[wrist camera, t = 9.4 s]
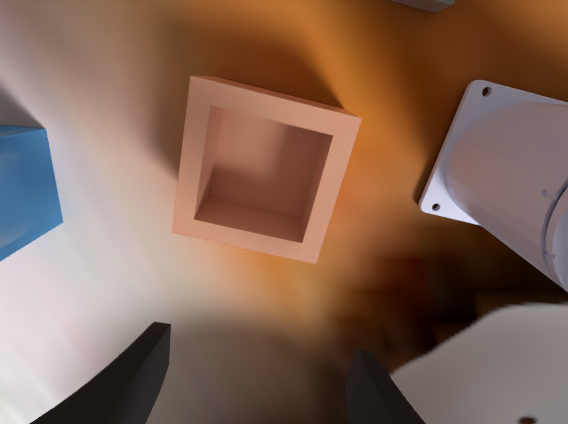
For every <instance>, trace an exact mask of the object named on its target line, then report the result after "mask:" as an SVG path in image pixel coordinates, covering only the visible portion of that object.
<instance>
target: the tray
mask: <svg viewBox="0 0 568 424" xmlns="http://www.w3.org/2000/svg"><path fill="white" fill-rule="evenodd" d="M390 1H393V2H397V3H401V4H404V5H408V6H411V7H415V8H419V9H422V10H426V11H429V12H433V13H437V12H440V11H442V10H444V9H446V8H448V7H450V6H453V4H454V2H455V0H390Z"/></svg>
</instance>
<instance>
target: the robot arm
mask: <svg viewBox="0 0 568 424" xmlns="http://www.w3.org/2000/svg"><path fill="white" fill-rule="evenodd" d="M485 87H487V88H488V93H487V94H486V95H485V96H483V94H482V90H483V89H484V88H485ZM436 203H438V206H437V207H436V208H435V209H432V206H433V205H434V204H436ZM419 208H420V209H421V210H422V211H423V212H425V213H430V214H434V215H438V216H442V217H447V218H451V219H455V220H460V221H464V222H468V223H472V224H477V225H481V226H482V227H484V228H485V229H486V230H488V231H489V232H490V233H492V234H493V235H494V236H495V237H497V238H498V239H499V240H501V241H502V242H503V243H505V244H506V245H507V246H508V247H510V248H511V249H512V250H514V251H515V252H516V253H518V254H519V255H520V256H522V257H523V258H524V259H525V260H527V261H528V262H529V263H531V264H532V265H533V266H535V267H536V268H537V269H538V270H540V271H541V272H542V273H544V274H545V275H546V276H548V277H549V278H550V279H552V280H553V281H554V282H555V283H557V284H558V285H559V286H561V287H562V288H564V289H565V290H566V291H567V292H568V102H564V101H560V100H556V99H553V98H549V97H545V96H541V95H537V94H534V93H530V92H526V91H522V90H519V89H515V88H511V87H507V86H504V85H500V84H496V83H492V82H488V81H485V80H474V81H472V82H470V83H469V84H468V86H467V88H466V90H465V93H464V95H463V98H462V100H461V102H460V105H459V107H458V110H457V112H456V114H455V117H454V119H453V122H452V124H451V126H450V129H449V131H448V134H447V136H446V138H445V141H444V143H443V146H442V148H441V150H440V153H439V155H438V158H437V160H436V162H435V165H434V167H433V170H432V172H431V174H430V177H429V179H428V182H427V184H426V186H425V189H424V191H423V194H422V196H421V198H420V201H419ZM170 332H171V324H166V323H159V322H154V323H152V324H151V325H150V326H149V327H148V328H147V329H146V330H145V331H144V332H143V333H142V334H141V335H140V336H139V337H138V338H137V339H136V340H135V341H134V342H133V343H132V344H131V345H130V346H129V347H128V348H127V349H126V350H125V351H124V352H122V353H121V354H120V355H119V356H118V357H117V358H116V359H115V360H114V361H113V362H111V363H110V364H109V365H108V366H107V367H106V368H104V369H103V370H102V371H101V372H100V373H98V374H97V375H96V376H95V377H94V378H92V379H91V380H90V381H89V382H88V383H86V384H85V385H84V386H82V387H81V388H80V389H79V390H77V391H76V392H75V393H73V394H72V395H71V396H69V397H68V398H66V399H65V400H64V401H62V402H61V403H60V404H58V405H57V406H55V407H54V408H52V409H51V410H49V411H48V412H46V413H45V414H43V415H42V416H40V417H39V418H37V419H36V420H34V421H33V422H31V423H30V424H145V423H146V421H147V419H148V417H149V414H150V412H151V410H152V408H153V406H154V403H155V401H156V399H157V397H158V395H159V392H160V389H161V386H162V384H163V381H164V378H165V375H166V372H167V369H168V366H169V350H170ZM345 398H346V408H347V416H348V421H349V424H425V423H424V421H423V420H422V419H421V417H420V416H419V415H418V414H417V413H416V411H415V410H414V409H413V408H412V406H411V405H410V404H409V402H408V401H407V400H406V398H405V397H404V396H403V395H402V393H401V392H400V390H399V389H398V387H397V386H396V385H395V383H394V382H393V381H392V379H391V378H390V376H389V375H388V373H387V372H386V371H385V369H384V368H383V366H382V365H381V363H380V362H379V360H378V359H377V358H376V356H375V355H374V353H373V352H372V351H365V350H358V349H357V351H356V354H355V357H354V360H353V363H352V366H351V369H350V372H349V375H348V379H347V382H346V385H345Z"/></svg>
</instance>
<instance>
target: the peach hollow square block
mask: <svg viewBox="0 0 568 424" xmlns="http://www.w3.org/2000/svg"><path fill="white" fill-rule="evenodd" d="M361 120H362V118H360V117H358V116H357V115H355V114H353V113H351V112H349V111H347V110H346V109H343V108H339V107H335V106H331V105H327V104H323V103H319V102H315V101H311V100H307V99H303V98H299V97H295V96H291V95H287V94H283V93H279V92H275V91H271V90H267V89H263V88H259V87H255V86H251V85H247V84H243V83H239V82H235V81H231V80H227V79H223V78H219V77H214V76H190V84H189V92H188V100H187V109H186V117H185V126H184V134H183V142H182V151H181V159H180V168H179V176H178V184H177V193H176V201H175V209H174V218H173V226H172V233H175V234H180V235H184V236H189V237H193V238H198V239H203V240H207V241H212V242H216V243H221V244H226V245H230V246H235V247H239V248H244V249H249V250H253V251H258V252H262V253H267V254H272V255H276V256H281V257H286V258H290V259H295V260H299V261H304V262H309V263H313V264H316V263H317V259H318V256H319V253H320V250H321V247H322V244H323V240H324V237H325V234H326V231H327V228H328V224H329V221H330V218H331V215H332V212H333V209H334V205H335V202H336V199H337V196H338V193H339V190H340V186H341V183H342V180H343V177H344V174H345V170H346V167H347V164H348V161H349V158H350V155H351V151H352V148H353V145H354V142H355V139H356V135H357V132H358V129H359V126H360V123H361Z"/></svg>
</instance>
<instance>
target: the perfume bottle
mask: <svg viewBox="0 0 568 424" xmlns="http://www.w3.org/2000/svg"><path fill="white" fill-rule="evenodd" d="M61 223H63V219H62V213H61V208H60V202H59V197H58V192H57V186H56V181H55V176H54V170H53V165H52V159H51V154H50V149H49V143H48V138H47V132H46V129H42V128H30V127H19V126H7V125H0V261H2V260H3V259H5V258H7V257H8V256H10V255H11V254H13V253H15V252H16V251H18V250H19V249H21V248H23V247H24V246H26V245H27V244H29V243H31V242H32V241H34V240H35V239H37V238H39V237H40V236H42V235H43V234H45V233H47V232H48V231H50V230H51V229H53V228H55V227H56V226H58V225H59V224H61Z"/></svg>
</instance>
